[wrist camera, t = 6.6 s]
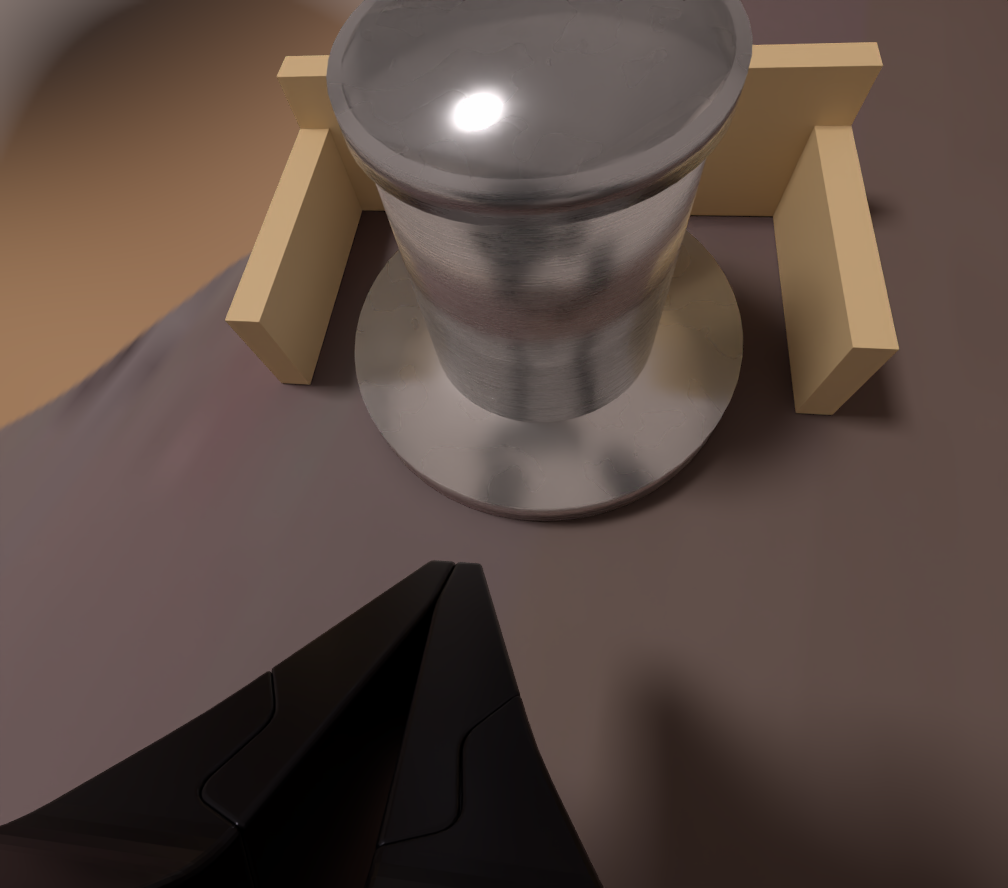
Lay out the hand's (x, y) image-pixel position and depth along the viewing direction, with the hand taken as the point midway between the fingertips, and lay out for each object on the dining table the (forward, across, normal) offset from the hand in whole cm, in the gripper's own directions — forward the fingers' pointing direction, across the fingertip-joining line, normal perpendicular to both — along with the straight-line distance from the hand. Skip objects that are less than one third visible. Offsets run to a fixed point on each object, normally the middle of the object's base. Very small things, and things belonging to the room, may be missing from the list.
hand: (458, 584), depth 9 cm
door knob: (+14, -1, -1) cm, 14 cm away
